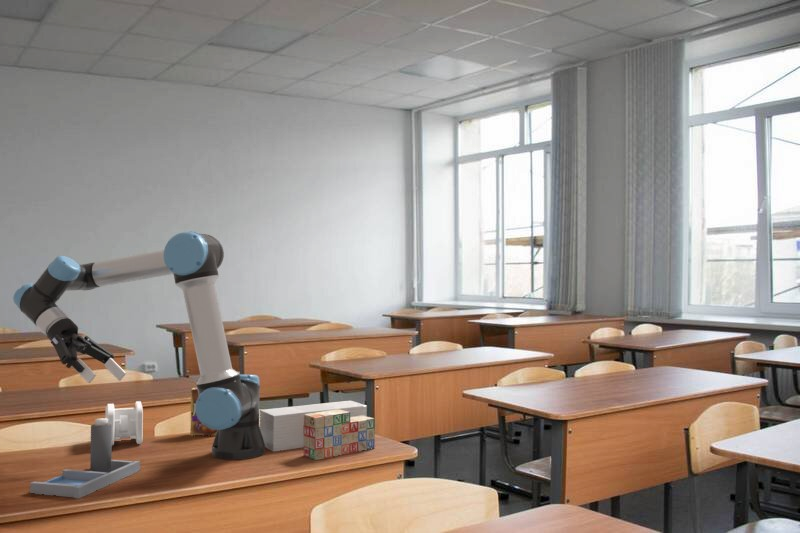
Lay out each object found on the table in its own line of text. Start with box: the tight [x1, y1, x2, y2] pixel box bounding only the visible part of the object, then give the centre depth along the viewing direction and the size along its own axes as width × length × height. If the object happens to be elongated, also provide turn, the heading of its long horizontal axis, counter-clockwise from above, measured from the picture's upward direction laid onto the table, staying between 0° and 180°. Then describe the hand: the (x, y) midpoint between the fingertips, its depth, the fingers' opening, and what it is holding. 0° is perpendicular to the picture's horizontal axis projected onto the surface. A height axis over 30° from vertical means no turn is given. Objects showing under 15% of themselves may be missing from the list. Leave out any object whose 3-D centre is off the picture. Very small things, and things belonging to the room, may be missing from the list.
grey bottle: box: [89, 417, 113, 473], centre depth 183 cm, size 5×5×14 cm
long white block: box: [259, 400, 368, 452], centre depth 223 cm, size 32×11×11 cm, turn 123°
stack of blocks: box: [303, 409, 376, 461], centre depth 209 cm, size 21×6×12 cm, turn 130°
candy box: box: [189, 386, 217, 437], centre depth 230 cm, size 9×4×15 cm, turn 96°
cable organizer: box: [104, 400, 144, 447], centre depth 219 cm, size 15×11×12 cm
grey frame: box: [29, 459, 141, 499], centre depth 178 cm, size 14×24×2 cm, turn 167°
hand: (108, 378), depth 192 cm, fingers open, 13 cm apart
